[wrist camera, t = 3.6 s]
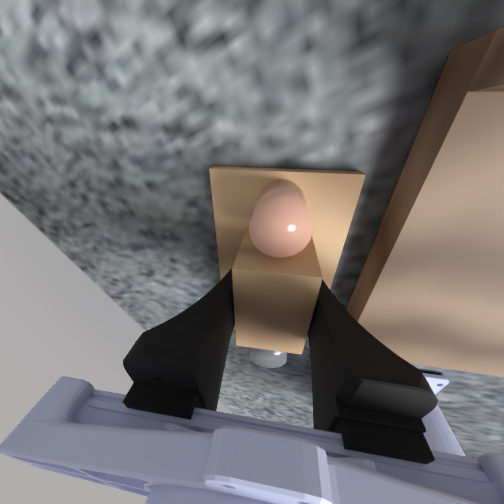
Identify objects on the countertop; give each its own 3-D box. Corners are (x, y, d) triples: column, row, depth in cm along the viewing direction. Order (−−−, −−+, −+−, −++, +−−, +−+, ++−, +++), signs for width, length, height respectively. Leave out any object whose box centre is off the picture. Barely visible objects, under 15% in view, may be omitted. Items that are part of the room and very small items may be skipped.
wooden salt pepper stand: (314, 324, 17) (323, 386, 13) (227, 314, 18) (211, 369, 14) (359, 170, 10) (409, 199, 6) (214, 165, 11) (174, 188, 7)
